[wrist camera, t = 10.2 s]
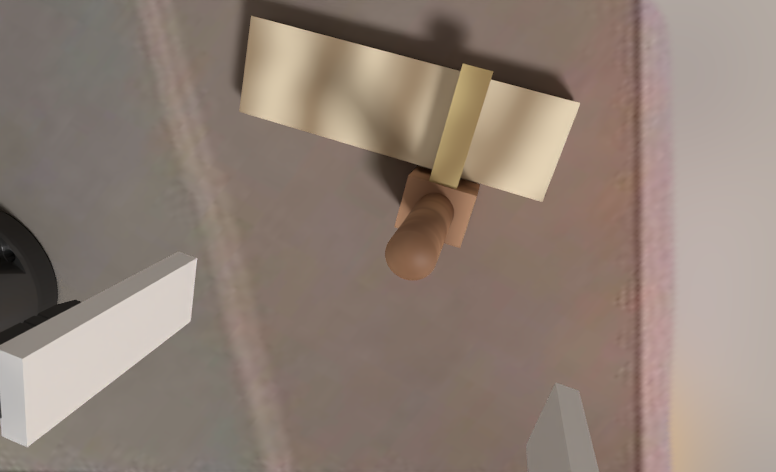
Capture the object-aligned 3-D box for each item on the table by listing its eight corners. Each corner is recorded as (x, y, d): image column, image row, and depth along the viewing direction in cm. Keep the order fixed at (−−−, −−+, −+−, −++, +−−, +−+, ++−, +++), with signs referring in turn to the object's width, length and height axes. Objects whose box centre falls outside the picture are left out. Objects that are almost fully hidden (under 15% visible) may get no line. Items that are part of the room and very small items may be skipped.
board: (252, 110, 38) (239, 111, 36) (264, 19, 36) (251, 15, 34) (540, 195, 35) (542, 202, 33) (576, 102, 32) (580, 103, 31)
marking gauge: (405, 212, 38) (358, 273, 26) (447, 60, 33) (414, 48, 21) (464, 231, 37) (445, 303, 25) (514, 77, 33) (520, 75, 21)
